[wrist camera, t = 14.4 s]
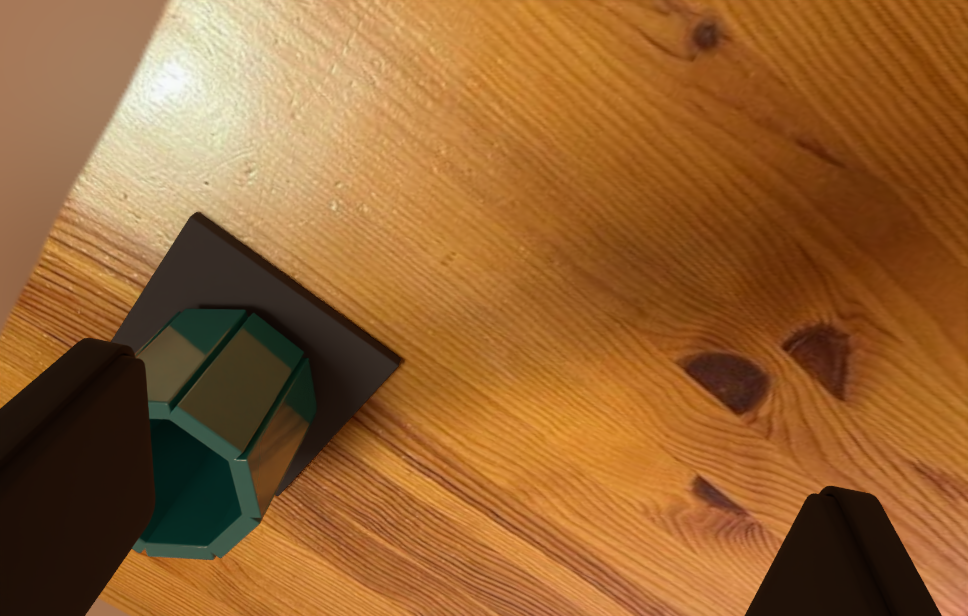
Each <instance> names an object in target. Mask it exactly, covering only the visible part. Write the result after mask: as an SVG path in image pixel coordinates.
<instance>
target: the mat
mask: <svg viewBox="0 0 968 616" xmlns="http://www.w3.org/2000/svg"><path fill="white" fill-rule="evenodd" d="M184 309H240V310H246V311H247V315H248V317H249V316H250V315H251V314H252V313H255V314H257V315H258V316H259V317H260V318H262V319H263V320H264V321H266V322H267V323H268V324H269V325H271V326H272V327H273V328H274V329H276V330H277V331H278V332H280V333H281V334H282V335H283V336H285V337H286V338H287V339H288V340H290V341H291V342H292V343H294V344H295V345H296V346H297V347H299V348H300V349H301V350H303V351H304V354H303V356H302V358H308V359H309V364H310V369H311V375H312V381H313V386H314V392H315V398H316V403H317V411H316V413H315V414H316V416H315V418H314V420H313V422H312V424H311V425H310V427H309V429H308V431H307V433H306V435H305V437H304V439H303V441H302V443H301V445H300V447H299V449H298V451H297V453H296V455H295V457H294V458H293V460H292V462H291V464H290V466H289V468H288V470H287V472H286V474H285V476H284V478H283V480H282V482H281V484H280V486H279V488H278V490H277V491H276V493H275V495H276V496H279V495H280V494H281V493H282V492H283V491H284V490H285V488H286V487H287V486H288V485H289V484H290V483H291V482H292V481H293V480H294V479H295V478H296V477H297V475H298V474H299V473H300V472H301V471H302V470H303V469H304V468H305V467H306V466H307V465H308V464H309V462H310V461H311V460H312V459H313V458H314V457H315V456H316V455H317V454H318V453H319V452H320V451H321V449H322V448H323V447H324V446H325V445H326V444H327V443H328V442H329V441H330V440H331V439H332V438H333V436H334V435H335V434H336V433H337V432H338V431H339V430H340V429H341V428H342V427H343V426H344V425H345V424H346V422H347V421H348V420H349V419H350V418H351V417H352V416H353V415H354V414H355V413H356V412H357V411H358V409H359V408H360V407H361V406H362V405H363V404H364V403H365V402H366V401H367V400H368V399H369V398H370V396H371V395H372V394H373V393H374V392H375V391H376V390H377V389H378V388H379V387H380V386H381V385H382V383H383V382H384V381H385V380H386V379H387V378H388V377H389V376H390V375H391V374H392V373H393V372H394V371H395V369H396V368H397V367H398V366H399V363H400V361H401V358H399V357H398V356H397V355H395V354H394V353H393V352H391V351H390V350H388V349H387V348H386V347H384V346H383V345H381V344H380V343H379V342H377V341H376V340H375V339H373V338H372V337H370V336H369V335H368V334H366V333H365V332H363V331H362V330H361V329H359V328H358V327H356V326H355V325H354V324H352V323H351V322H350V321H348V320H347V319H345V318H344V317H343V316H341V315H340V314H338V313H337V312H336V311H334V310H333V309H331V308H330V307H329V306H327V305H326V304H325V303H323V302H322V301H320V300H319V299H318V298H316V297H315V296H313V295H312V294H311V293H309V292H308V291H306V290H305V289H304V288H302V287H301V286H300V285H298V284H297V283H295V282H294V281H293V280H291V279H290V278H288V277H287V276H286V275H284V274H283V273H281V272H280V271H279V270H277V269H276V268H275V267H273V266H272V265H270V264H269V263H268V262H266V261H265V260H263V259H262V258H261V257H259V256H258V255H257V254H255V253H254V252H252V251H251V250H250V249H248V248H247V247H245V246H244V245H243V244H241V243H240V242H238V241H237V240H236V239H234V238H233V237H232V236H230V235H229V234H227V233H226V232H225V231H223V230H222V229H220V228H219V227H218V226H216V225H215V224H213V223H212V222H211V221H209V220H208V219H207V218H205V217H204V216H202V215H201V214H200V213H198V212H196V213H195V214H193V215H192V216H191V217H190V218H189V219H188V221H187V222H186V224H185V226H184V227H183V229H182V230H181V232H180V233H179V235H178V237H177V238H176V240H175V241H174V243H173V245H172V246H171V248H170V249H169V251H168V252H167V254H166V256H165V257H164V259H163V260H162V262H161V263H160V265H159V267H158V268H157V270H156V271H155V273H154V274H153V276H152V278H151V279H150V281H149V282H148V284H147V285H146V287H145V289H144V290H143V292H142V293H141V295H140V296H139V298H138V300H137V301H136V303H135V304H134V306H133V307H132V309H131V311H130V312H129V314H128V315H127V317H126V318H125V320H124V322H123V323H122V325H121V326H120V328H119V329H118V331H117V333H116V334H115V336H114V337H113V339H112V340H111V342H113V343H118V344H123V345H128V346H130V347H131V348H132V349H133V351H134V353H136V352H137V351H138V350H139V349H140V348H141V347H142V346H143V345H144V344H145V343H146V342H147V341H148V340H149V339H150V338H151V337H152V336H153V335H154V334H155V333H156V332H158V331H159V330H160V329H161V328H162V327H163V326H164V325H165V324H166V323H167V322H168V321H169V320H170V319H171V318H172V317H173V316H174V315H175V314H176V313H177V312H179V311H180V312H182V311H183V310H184Z"/></svg>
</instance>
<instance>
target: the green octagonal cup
mask: <svg viewBox="0 0 968 616" xmlns="http://www.w3.org/2000/svg"><path fill="white" fill-rule="evenodd" d="M303 354H304V351H303V350H301V349H300V348H299V347H297V346H296V345H295V344H294V343H292V342H291V341H290V340H288V339H287V338H286V337H285V336H283V335H282V334H281V333H280V332H278V331H277V330H276V329H274V328H273V327H272V326H271V325H269V324H268V323H267V322H266V321H264V320H263V319H262V318H260V317H259V316H258V315H257V314H255V313H252V314H251V315H250V316H249V317H248V315H247V311H246V310H240V309H184V310H183V311H182V312H180V311H179V312H177V313H176V314H175V315H174V316H173V317H172V318H171V319H170V320H169V321H168V322H167V323H166V324H165V325H164V326H163V327H162V328H161V329H160V330H159V331H158V332H156V333H155V334H154V335H153V336H152V337H151V338H150V339H149V340H148V341H147V342H146V343H145V344H144V345H143V346H142V347H141V348H140V349H139V350H138V351H137V352H136V353H135V358H140V359H142V360H143V362H144V363H145V368H146V380H147V393H148V407H149V420H150V433H151V446H152V459H153V473H154V486H155V508H154V512H153V515H152V517H151V520H150V522H149V524H148V525H147V527H146V529H145V530H144V532H143V533H142V534H141V536H140V537H139V539H138V540H137V542H136V543H135V544H134V546H133V547H132V549H133V550H135V551H136V552H138V553H141V552H142V551H143V550H144V549H145V550H146V553H147V555H148V556H150V557H167V558H185V559H203V560H214V559H215V557H216V556H217V557H219V558H222V557H223V556H224V555H226V554H227V553H228V552H229V551H230V550H231V549H232V548H233V547H234V546H236V545H237V544H238V543H239V542H240V541H241V540H242V539H243V538H245V537H246V536H247V535H248V534H249V533H250V532H251V531H252V530H254V529H255V528H256V527H257V526H258V525H259V524H260V523H261V521H262V519H263V517H264V515H265V513H266V511H267V509H268V507H269V505H270V503H271V501H272V499H273V497H274V495H275V493H276V491H277V490H278V488H279V486H280V484H281V482H282V480H283V478H284V476H285V474H286V472H287V470H288V468H289V466H290V464H291V462H292V460H293V458H294V457H295V455H296V453H297V451H298V449H299V447H300V445H301V443H302V441H303V439H304V437H305V435H306V433H307V431H308V429H309V427H310V425H311V424H312V422H313V420H314V418H315V416H316V414H315V413H316V411H317V403H316V398H315V392H314V386H313V381H312V375H311V369H310V364H309V359H308V358H302V356H303Z"/></svg>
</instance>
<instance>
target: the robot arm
mask: <svg viewBox="0 0 968 616" xmlns="http://www.w3.org/2000/svg"><path fill="white" fill-rule="evenodd" d="M154 508H155V486H154V473H153V459H152V446H151V433H150V420H149V407H148V393H147V380H146V368H145V363H144V362H143V360H142V359H140V358H135V353H134V351H133V349H132V348H131V347H130V346H128V345H123V344H118V343H113V342H108V341H103V340H98V339H93V338H84V339H83V340H81V341H79V342H78V343H77V344H75V345H74V346H73V347H72V348H71V349H70V350H68V351H67V352H66V353H65V354H64V355H63V356H61V357H60V358H59V359H58V360H57V361H56V362H54V363H53V364H52V365H51V366H50V367H49V368H47V369H46V370H45V371H44V372H43V373H42V374H40V375H39V376H38V377H37V378H36V379H35V380H33V381H32V382H31V383H30V384H29V385H28V386H26V387H25V388H24V389H23V390H22V391H21V392H19V393H18V394H17V395H16V396H15V397H13V398H12V399H11V400H10V401H9V402H8V403H6V404H5V405H4V406H3V407H2V408H1V409H0V616H85V615H86V613H87V612H88V611H89V609H90V608H91V606H92V605H93V603H94V602H95V600H96V599H97V598H98V596H99V595H100V593H101V592H102V590H103V589H104V588H105V586H106V585H107V583H108V582H109V580H110V579H111V578H112V576H113V575H114V573H115V572H116V570H117V569H118V567H119V566H120V565H121V563H122V562H123V560H124V559H125V557H126V556H127V555H128V553H129V552H130V550H131V549H132V547H133V546H134V544H135V543H136V542H137V540H138V539H139V537H140V536H141V534H142V533H143V532H144V530H145V529H146V527H147V525H148V524H149V522H150V520H151V517H152V515H153V512H154ZM745 616H942V615H941V613H940V612H939V610H938V608H937V606H936V604H935V602H934V601H933V599H932V597H931V595H930V593H929V591H928V590H927V588H926V586H925V584H924V582H923V580H922V579H921V577H920V575H919V573H918V571H917V569H916V568H915V566H914V564H913V562H912V560H911V558H910V557H909V555H908V553H907V551H906V549H905V547H904V546H903V544H902V542H901V540H900V538H899V536H898V535H897V533H896V531H895V529H894V527H893V525H892V524H891V522H890V520H889V518H888V516H887V514H886V513H885V511H884V509H883V507H882V505H881V503H880V502H879V500H878V499H877V498H876V497H875V496H874V495H872V494H870V493H865V492H860V491H855V490H850V489H845V488H840V487H835V486H827V487H825V488H824V489H822V491H821V492H820V493H819V494H816V493H815V494H811V495H809V496H808V497H807V499H806V500H805V502H804V504H803V506H802V508H801V510H800V512H799V513H798V515H797V517H796V519H795V521H794V523H793V525H792V527H791V529H790V531H789V532H788V534H787V536H786V538H785V540H784V542H783V544H782V546H781V548H780V549H779V551H778V553H777V555H776V557H775V559H774V561H773V563H772V565H771V567H770V568H769V570H768V572H767V574H766V576H765V578H764V580H763V582H762V584H761V586H760V587H759V589H758V591H757V593H756V595H755V597H754V599H753V601H752V603H751V605H750V606H749V608H748V610H747V612H746V614H745Z"/></svg>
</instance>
